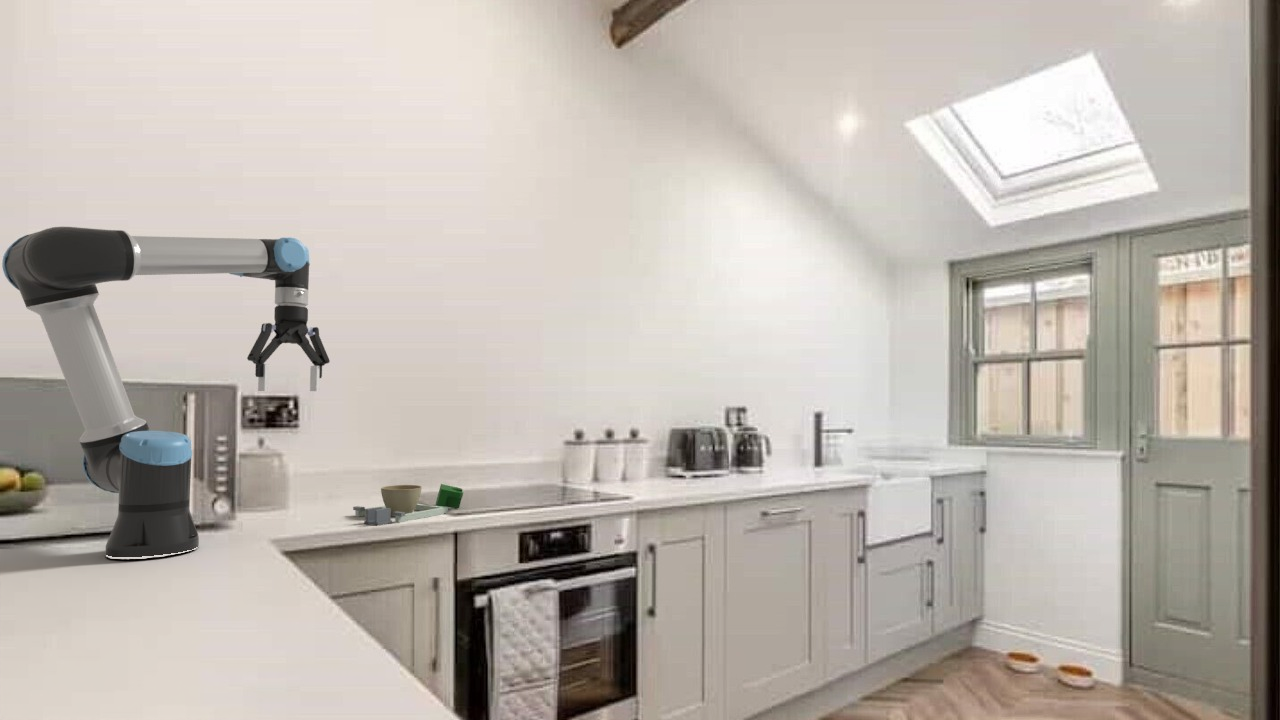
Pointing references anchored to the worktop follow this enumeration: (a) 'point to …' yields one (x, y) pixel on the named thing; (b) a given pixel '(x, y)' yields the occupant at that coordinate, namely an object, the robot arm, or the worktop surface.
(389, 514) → the clip
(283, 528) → the worktop surface
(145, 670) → the worktop surface
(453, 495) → the clamp
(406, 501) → the flower pot
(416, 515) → the holder
